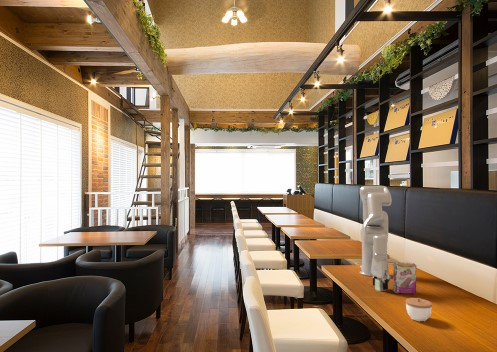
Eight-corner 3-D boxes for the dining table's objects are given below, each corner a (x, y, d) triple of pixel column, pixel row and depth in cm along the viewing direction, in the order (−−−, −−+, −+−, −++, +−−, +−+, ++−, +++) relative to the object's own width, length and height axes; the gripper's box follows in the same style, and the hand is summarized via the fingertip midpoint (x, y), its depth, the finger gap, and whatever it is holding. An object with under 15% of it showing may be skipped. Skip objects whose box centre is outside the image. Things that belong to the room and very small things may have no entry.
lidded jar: (409, 312, 165) (409, 292, 165) (434, 318, 158) (434, 297, 158) (402, 319, 157) (402, 298, 157) (429, 325, 150) (428, 303, 150)
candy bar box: (395, 293, 193) (395, 264, 193) (392, 290, 198) (392, 261, 198) (416, 294, 192) (416, 264, 192) (413, 291, 197) (413, 262, 197)
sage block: (375, 289, 201) (375, 278, 201) (380, 288, 202) (380, 278, 202) (379, 291, 197) (379, 280, 197) (385, 290, 198) (385, 280, 198)
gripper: (365, 254, 207) (365, 283, 207) (384, 260, 191) (384, 292, 190) (376, 253, 209) (376, 282, 209) (396, 259, 193) (396, 291, 192)
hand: (380, 287), depth 200 cm, fingers open, 8 cm apart
